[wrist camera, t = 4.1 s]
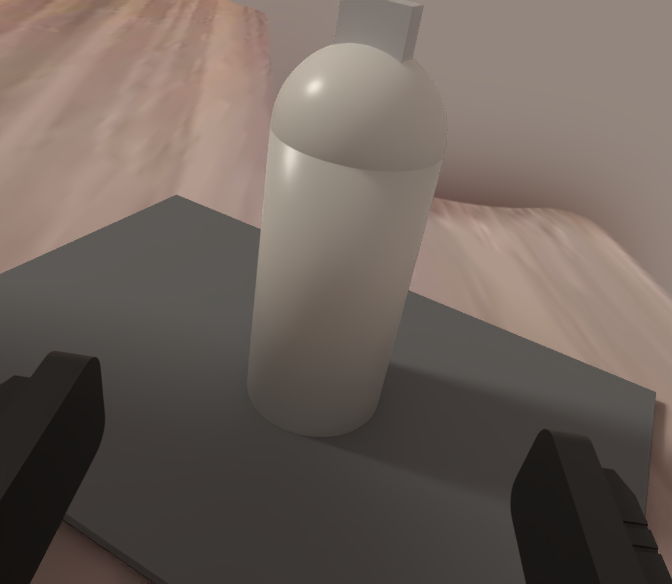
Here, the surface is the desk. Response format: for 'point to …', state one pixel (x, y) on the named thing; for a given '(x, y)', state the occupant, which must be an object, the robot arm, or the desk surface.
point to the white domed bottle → (343, 220)
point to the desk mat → (286, 447)
